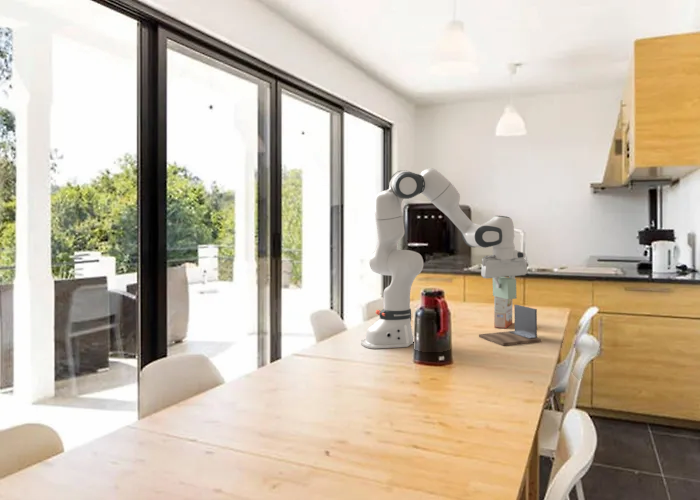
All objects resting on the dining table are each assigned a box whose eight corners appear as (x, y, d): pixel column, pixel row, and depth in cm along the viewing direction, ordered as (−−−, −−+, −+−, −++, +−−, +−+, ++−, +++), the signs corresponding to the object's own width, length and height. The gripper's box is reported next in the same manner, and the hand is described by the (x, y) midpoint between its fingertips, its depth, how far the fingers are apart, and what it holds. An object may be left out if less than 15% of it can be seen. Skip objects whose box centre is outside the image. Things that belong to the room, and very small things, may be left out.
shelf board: (503, 346, 208) (503, 343, 208) (479, 337, 225) (479, 334, 225) (541, 341, 214) (541, 338, 214) (514, 333, 231) (514, 330, 231)
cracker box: (507, 328, 241) (506, 283, 240) (493, 327, 244) (493, 283, 243) (513, 323, 253) (513, 280, 252) (500, 322, 256) (500, 280, 255)
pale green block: (508, 299, 214) (507, 279, 213) (492, 295, 224) (492, 277, 223) (516, 298, 215) (516, 279, 214) (501, 294, 225) (500, 276, 225)
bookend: (529, 338, 214) (528, 309, 214) (508, 332, 228) (508, 305, 227) (536, 338, 215) (536, 309, 215) (516, 331, 229) (515, 304, 228)
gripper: (486, 256, 212) (487, 290, 213) (528, 253, 218) (529, 286, 219) (477, 255, 218) (478, 288, 219) (519, 252, 224) (520, 284, 225)
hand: (504, 287), depth 219 cm, fingers closed on pale green block, 4 cm apart
